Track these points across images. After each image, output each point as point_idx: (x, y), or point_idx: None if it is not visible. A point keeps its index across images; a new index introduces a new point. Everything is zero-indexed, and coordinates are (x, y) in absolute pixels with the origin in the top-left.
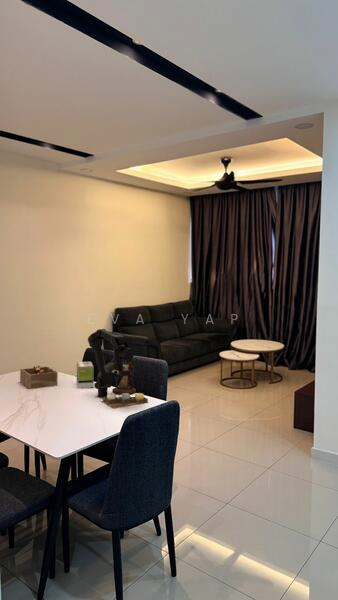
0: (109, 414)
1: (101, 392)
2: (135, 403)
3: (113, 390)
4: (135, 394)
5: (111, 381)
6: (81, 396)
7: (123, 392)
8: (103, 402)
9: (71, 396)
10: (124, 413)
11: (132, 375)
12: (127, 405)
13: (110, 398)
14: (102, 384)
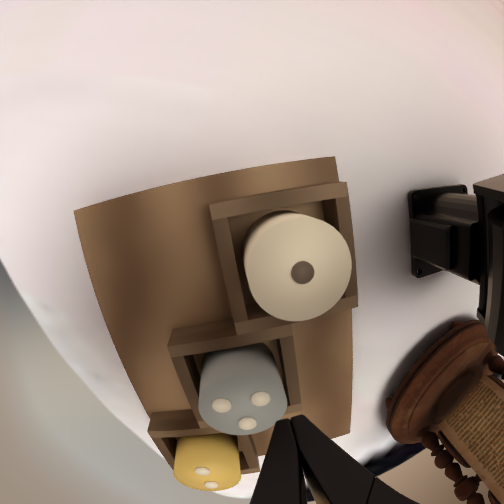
0: (30, 163)
1: (456, 214)
2: (174, 409)
3: (475, 329)
4: (213, 461)
5: (500, 348)
6: (486, 116)
7: (413, 387)
8: (288, 172)
9: (487, 72)
10: (28, 272)
11: (456, 493)
12: (134, 349)
13: (250, 239)
14: (501, 222)
